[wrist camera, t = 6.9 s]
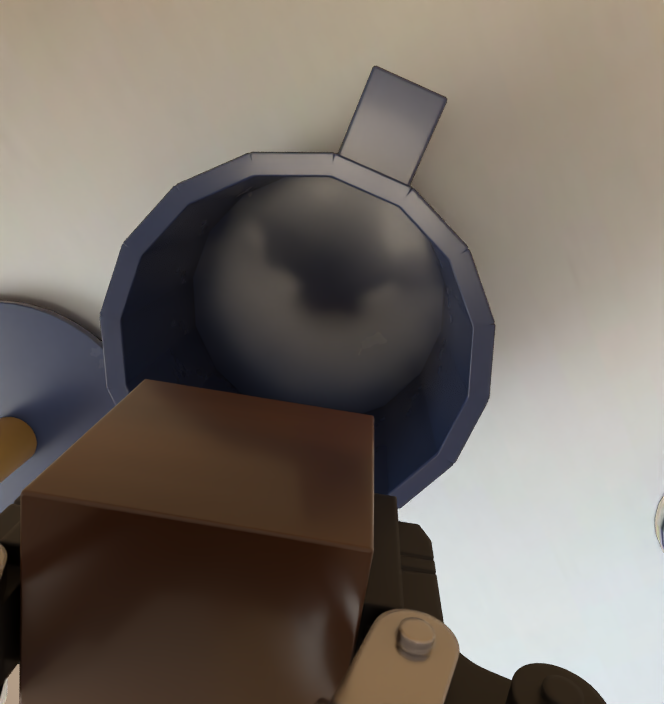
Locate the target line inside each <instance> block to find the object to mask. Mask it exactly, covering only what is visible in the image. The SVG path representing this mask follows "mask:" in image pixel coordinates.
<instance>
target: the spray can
mask: <svg viewBox="0 0 664 704" xmlns="http://www.w3.org/2000/svg"><path fill="white" fill-rule="evenodd" d="M655 528H656V535H657V538H658V540H659V543H660V545H661V548H662V550H663V553H664V496H663V498H662V500H661V501H660V503H659V505H658V509H657V513H656V517H655Z"/></svg>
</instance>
